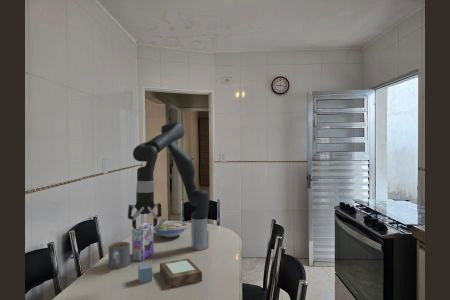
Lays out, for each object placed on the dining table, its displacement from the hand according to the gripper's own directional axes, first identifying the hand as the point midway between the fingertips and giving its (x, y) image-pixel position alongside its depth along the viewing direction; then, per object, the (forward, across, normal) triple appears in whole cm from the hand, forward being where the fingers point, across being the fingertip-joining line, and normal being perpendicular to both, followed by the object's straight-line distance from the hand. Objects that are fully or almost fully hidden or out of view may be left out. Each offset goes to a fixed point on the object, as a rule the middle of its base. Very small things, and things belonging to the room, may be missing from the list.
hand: (144, 227), depth 135 cm
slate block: (+23, 0, +1) cm, 23 cm away
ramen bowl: (+22, -26, -60) cm, 69 cm away
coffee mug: (+23, +9, -21) cm, 33 cm away
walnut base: (+23, -15, +3) cm, 28 cm away
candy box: (+23, -4, -30) cm, 37 cm away
